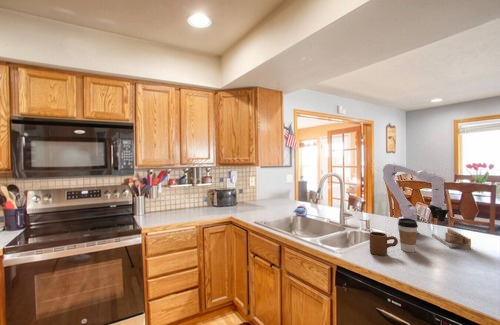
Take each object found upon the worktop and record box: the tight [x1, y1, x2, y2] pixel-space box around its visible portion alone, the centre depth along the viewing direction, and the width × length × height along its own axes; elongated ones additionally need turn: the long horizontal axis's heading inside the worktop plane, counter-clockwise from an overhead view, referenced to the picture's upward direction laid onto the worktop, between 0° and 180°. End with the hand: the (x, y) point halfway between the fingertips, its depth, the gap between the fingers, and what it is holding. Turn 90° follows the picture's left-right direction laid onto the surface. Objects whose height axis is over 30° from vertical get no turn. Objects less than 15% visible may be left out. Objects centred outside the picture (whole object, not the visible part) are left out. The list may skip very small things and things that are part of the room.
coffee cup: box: [397, 218, 419, 253], centre depth 120 cm, size 8×8×15 cm
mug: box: [369, 231, 399, 257], centre depth 116 cm, size 12×8×9 cm, turn 61°
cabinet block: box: [444, 232, 464, 244], centre depth 125 cm, size 6×4×7 cm
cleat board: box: [431, 228, 472, 250], centre depth 130 cm, size 9×19×5 cm, turn 165°
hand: (438, 219), depth 139 cm, fingers open, 7 cm apart
